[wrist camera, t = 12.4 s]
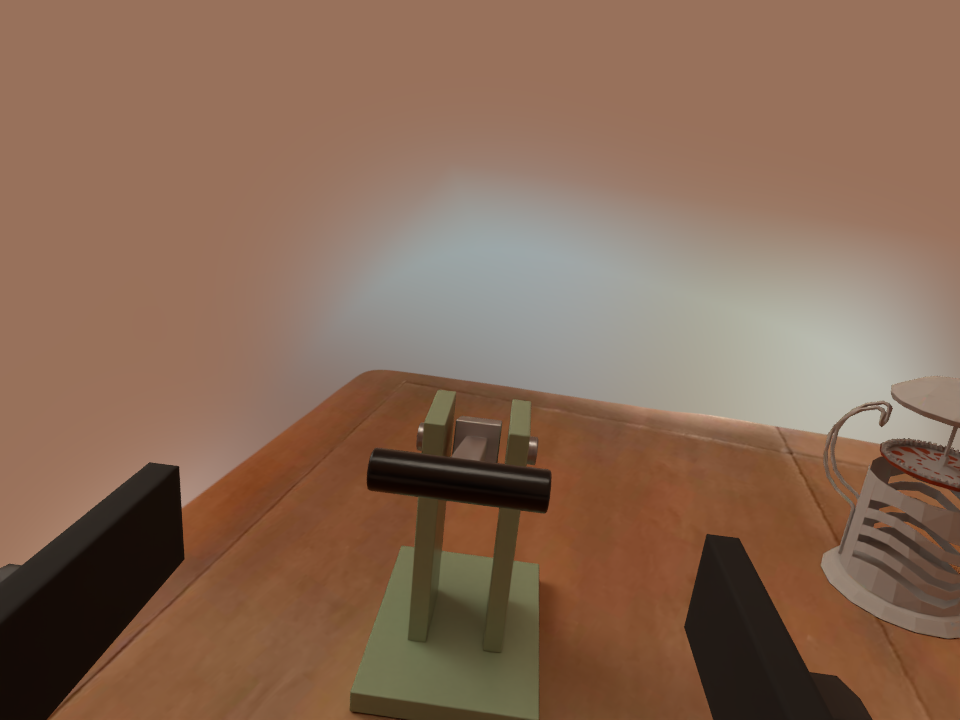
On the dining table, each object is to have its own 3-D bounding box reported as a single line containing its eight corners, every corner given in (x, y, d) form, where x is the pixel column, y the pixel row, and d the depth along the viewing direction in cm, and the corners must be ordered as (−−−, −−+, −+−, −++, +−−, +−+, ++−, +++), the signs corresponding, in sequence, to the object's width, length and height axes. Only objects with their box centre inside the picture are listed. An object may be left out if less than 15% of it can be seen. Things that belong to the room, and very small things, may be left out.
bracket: (536, 739, 30) (578, 481, 26) (349, 711, 31) (360, 453, 26) (536, 579, 42) (566, 381, 37) (400, 560, 42) (413, 362, 38)
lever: (545, 533, 21) (554, 458, 21) (362, 508, 21) (370, 435, 21) (532, 470, 34) (538, 425, 34) (419, 456, 34) (425, 411, 34)
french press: (972, 663, 38) (1151, 241, 30) (774, 567, 46) (877, 208, 38) (993, 594, 45) (1143, 235, 37) (819, 520, 52) (913, 208, 45)
